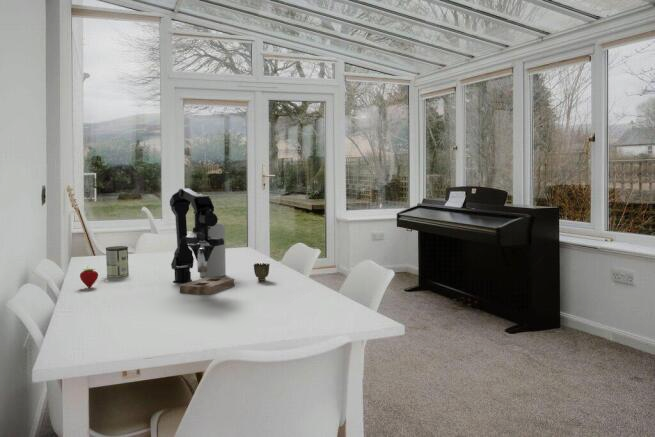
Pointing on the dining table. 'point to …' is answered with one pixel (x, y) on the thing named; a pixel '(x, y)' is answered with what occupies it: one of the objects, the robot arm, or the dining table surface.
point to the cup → (261, 271)
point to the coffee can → (117, 261)
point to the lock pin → (201, 260)
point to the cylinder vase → (216, 254)
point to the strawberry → (89, 277)
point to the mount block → (206, 285)
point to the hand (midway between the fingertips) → (202, 261)
